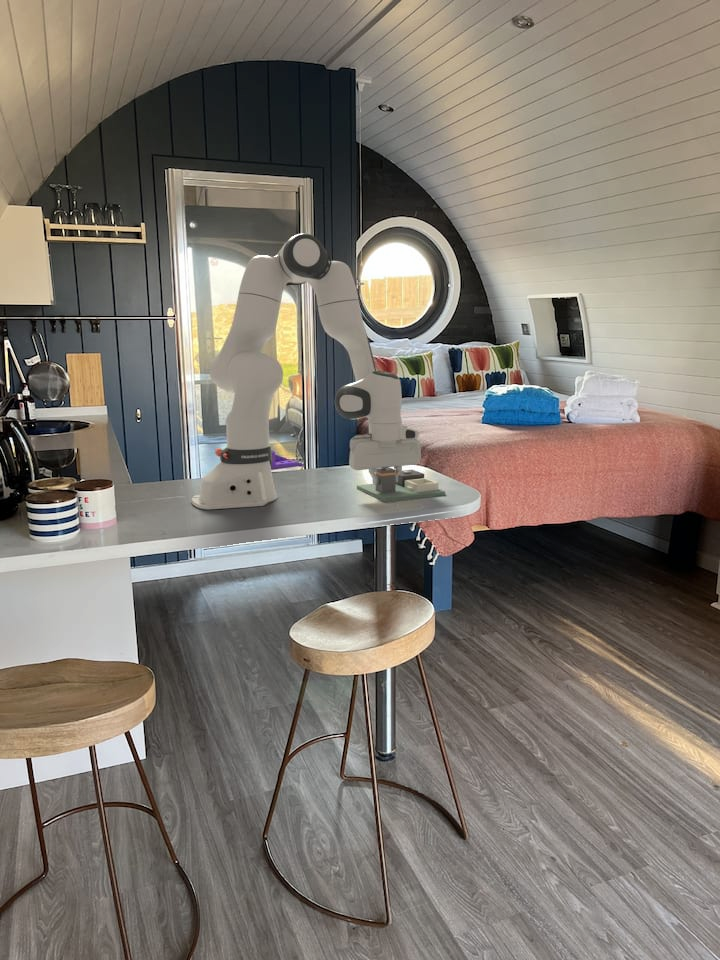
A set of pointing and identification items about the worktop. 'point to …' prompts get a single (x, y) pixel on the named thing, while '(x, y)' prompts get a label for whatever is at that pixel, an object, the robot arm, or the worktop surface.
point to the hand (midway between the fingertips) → (385, 483)
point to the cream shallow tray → (421, 485)
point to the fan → (408, 476)
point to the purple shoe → (282, 462)
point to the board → (397, 493)
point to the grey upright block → (386, 480)
